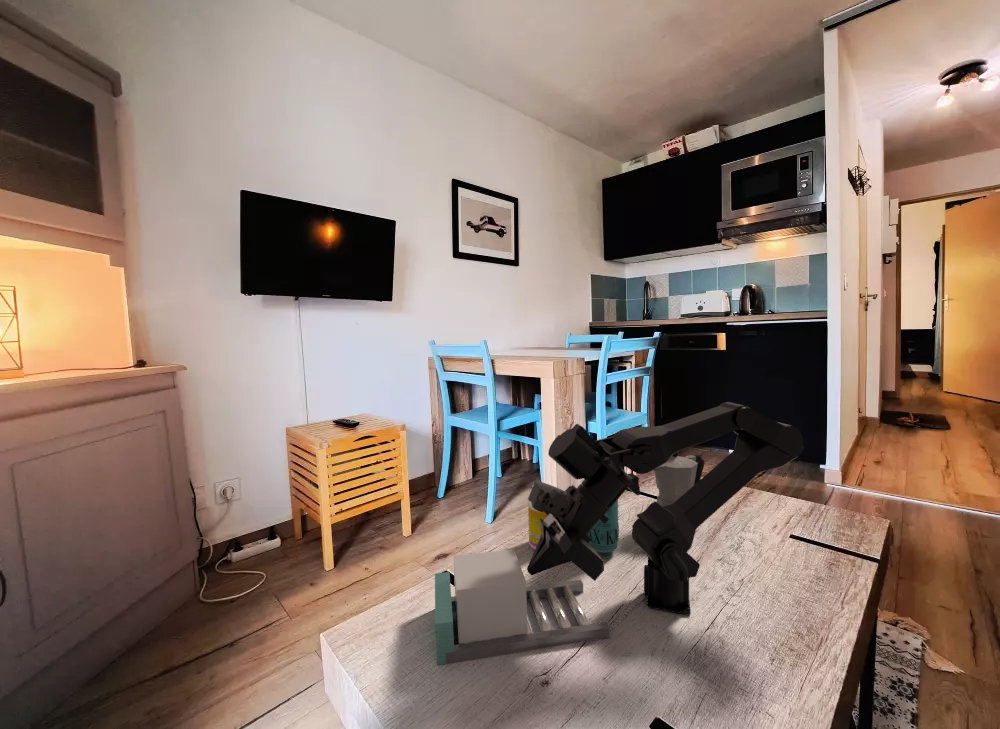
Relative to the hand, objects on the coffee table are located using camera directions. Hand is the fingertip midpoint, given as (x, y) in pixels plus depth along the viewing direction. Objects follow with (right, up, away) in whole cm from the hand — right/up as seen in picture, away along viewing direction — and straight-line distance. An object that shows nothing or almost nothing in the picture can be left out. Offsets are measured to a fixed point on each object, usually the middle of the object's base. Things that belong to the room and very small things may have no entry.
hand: (529, 572), depth 64 cm
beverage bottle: (+17, -6, +20) cm, 26 cm away
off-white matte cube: (-6, -7, -1) cm, 9 cm away
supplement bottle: (+5, -6, +23) cm, 24 cm away
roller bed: (-1, -8, 0) cm, 8 cm away
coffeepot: (+37, -5, +30) cm, 48 cm away
